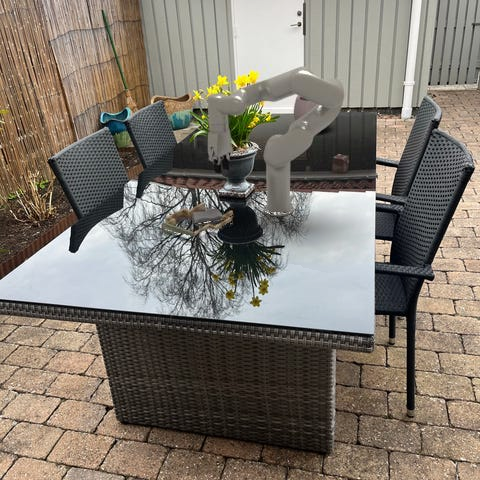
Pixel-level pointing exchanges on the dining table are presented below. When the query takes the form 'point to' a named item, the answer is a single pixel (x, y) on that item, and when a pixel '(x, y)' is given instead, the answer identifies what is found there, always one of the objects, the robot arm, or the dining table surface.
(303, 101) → the plant pot
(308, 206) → the dining table surface
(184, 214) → the box
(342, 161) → the box
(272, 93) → the robot arm
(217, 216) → the stone block
